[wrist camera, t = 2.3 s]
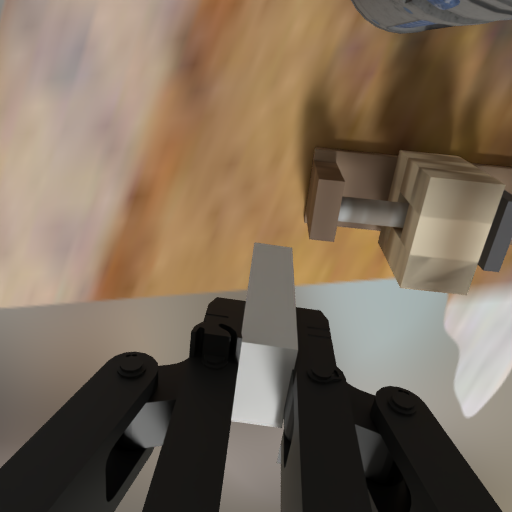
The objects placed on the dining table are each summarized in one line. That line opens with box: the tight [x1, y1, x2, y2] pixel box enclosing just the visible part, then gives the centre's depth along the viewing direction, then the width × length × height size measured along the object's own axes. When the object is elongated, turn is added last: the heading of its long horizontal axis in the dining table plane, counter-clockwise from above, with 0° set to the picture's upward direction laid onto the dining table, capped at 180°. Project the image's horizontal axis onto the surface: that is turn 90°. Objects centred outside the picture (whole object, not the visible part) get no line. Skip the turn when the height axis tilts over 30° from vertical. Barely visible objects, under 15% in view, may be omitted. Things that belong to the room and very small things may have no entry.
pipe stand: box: [304, 147, 512, 245], centre depth 37 cm, size 22×7×7 cm, turn 85°
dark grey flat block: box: [478, 190, 512, 272], centre depth 34 cm, size 1×6×6 cm, turn 175°
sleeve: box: [378, 150, 506, 295], centre depth 34 cm, size 5×9×9 cm, turn 175°
